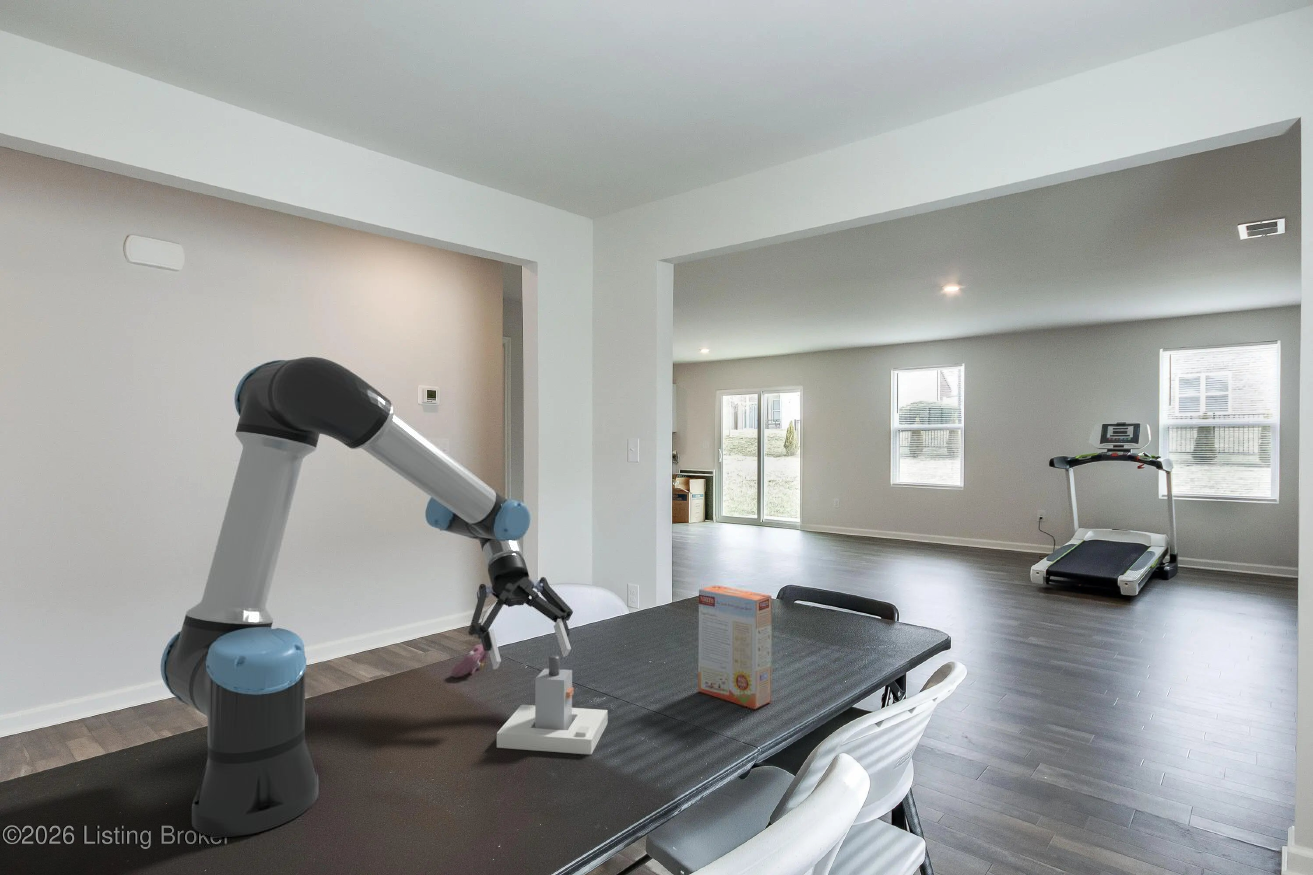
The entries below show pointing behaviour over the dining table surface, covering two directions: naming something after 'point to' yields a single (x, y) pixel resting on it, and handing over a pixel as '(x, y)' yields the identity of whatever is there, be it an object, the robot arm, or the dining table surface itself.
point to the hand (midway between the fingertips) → (533, 658)
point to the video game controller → (471, 662)
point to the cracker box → (735, 645)
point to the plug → (553, 697)
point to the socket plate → (553, 732)
